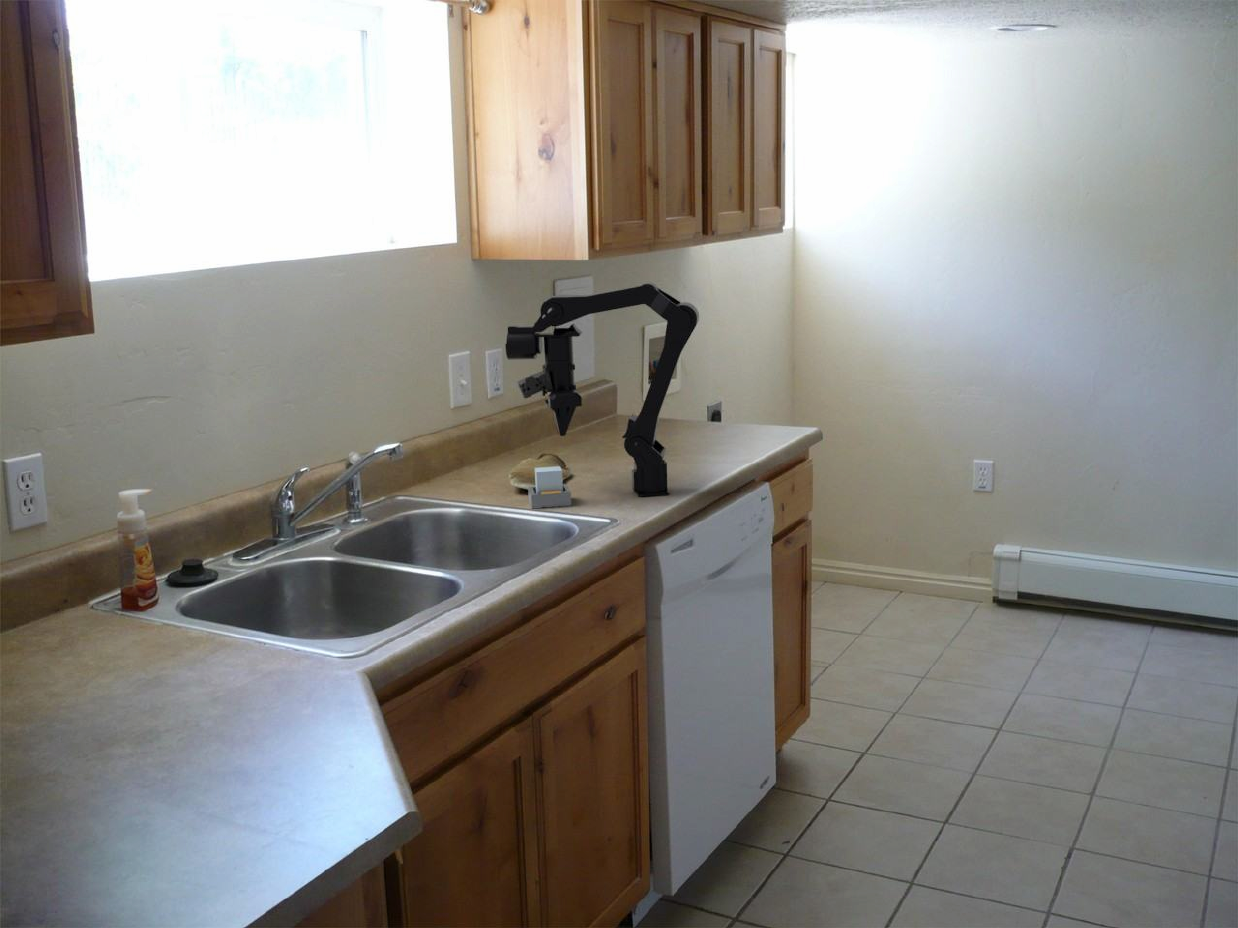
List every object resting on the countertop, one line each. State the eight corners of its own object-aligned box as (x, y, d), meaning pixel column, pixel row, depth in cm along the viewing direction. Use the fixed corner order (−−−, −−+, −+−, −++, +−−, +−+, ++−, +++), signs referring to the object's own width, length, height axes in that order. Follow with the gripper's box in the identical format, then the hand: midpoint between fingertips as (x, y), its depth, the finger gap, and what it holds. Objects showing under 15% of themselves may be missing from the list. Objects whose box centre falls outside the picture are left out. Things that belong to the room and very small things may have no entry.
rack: (567, 497, 246) (566, 482, 245) (571, 505, 239) (570, 490, 238) (528, 500, 245) (527, 485, 244) (531, 508, 238) (531, 493, 237)
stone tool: (527, 466, 274) (500, 494, 250) (528, 448, 273) (501, 474, 249) (577, 473, 273) (555, 501, 249) (579, 455, 272) (556, 482, 248)
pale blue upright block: (561, 495, 244) (559, 466, 243) (563, 500, 240) (561, 470, 239) (536, 497, 243) (534, 467, 242) (538, 502, 239) (536, 472, 238)
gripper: (514, 355, 251) (518, 429, 255) (522, 367, 233) (526, 447, 237) (568, 352, 253) (571, 426, 257) (580, 364, 235) (583, 443, 239)
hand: (562, 435), depth 247 cm, fingers closed
